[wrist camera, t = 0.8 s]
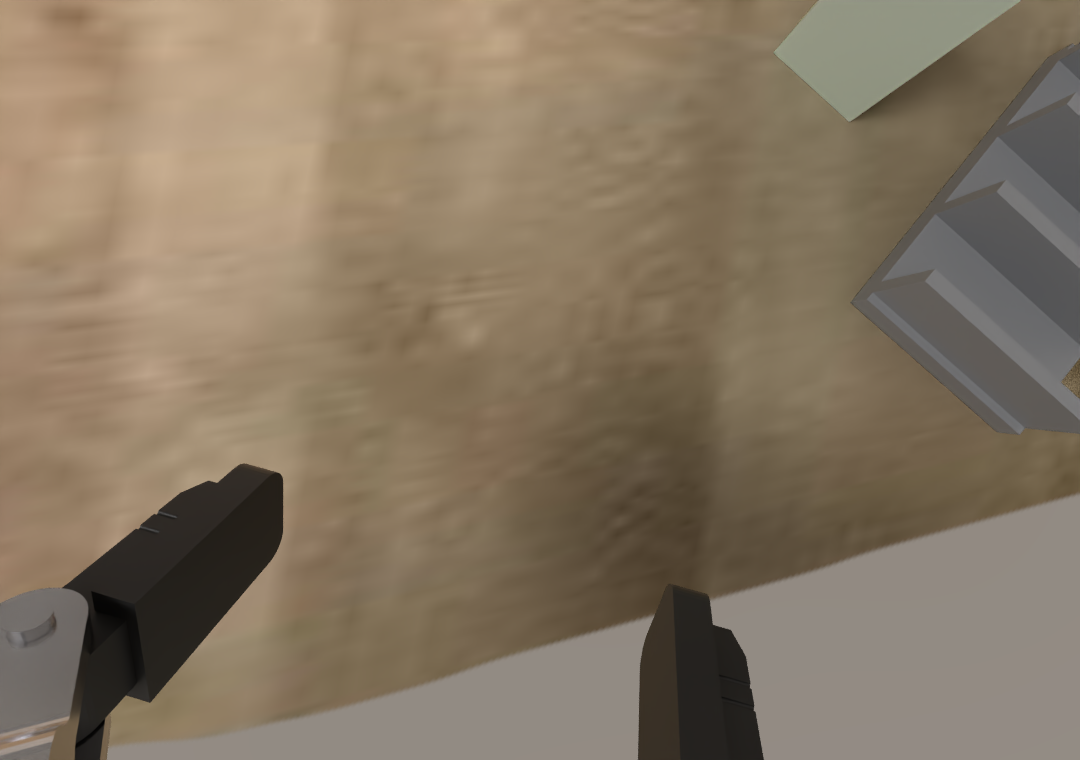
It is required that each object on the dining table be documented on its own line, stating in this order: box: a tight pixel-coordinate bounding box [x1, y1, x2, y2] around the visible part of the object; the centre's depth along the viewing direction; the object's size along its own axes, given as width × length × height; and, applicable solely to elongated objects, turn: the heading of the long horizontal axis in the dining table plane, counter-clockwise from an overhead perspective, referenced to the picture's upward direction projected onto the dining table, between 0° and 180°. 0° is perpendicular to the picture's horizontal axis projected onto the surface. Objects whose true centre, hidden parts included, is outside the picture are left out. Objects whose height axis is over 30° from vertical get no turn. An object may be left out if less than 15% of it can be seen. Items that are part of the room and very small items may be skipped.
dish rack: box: [851, 43, 1080, 435], centre depth 32 cm, size 19×12×6 cm, turn 140°
